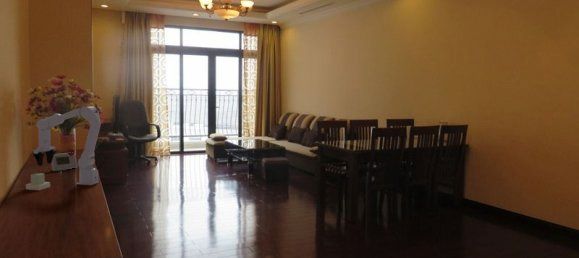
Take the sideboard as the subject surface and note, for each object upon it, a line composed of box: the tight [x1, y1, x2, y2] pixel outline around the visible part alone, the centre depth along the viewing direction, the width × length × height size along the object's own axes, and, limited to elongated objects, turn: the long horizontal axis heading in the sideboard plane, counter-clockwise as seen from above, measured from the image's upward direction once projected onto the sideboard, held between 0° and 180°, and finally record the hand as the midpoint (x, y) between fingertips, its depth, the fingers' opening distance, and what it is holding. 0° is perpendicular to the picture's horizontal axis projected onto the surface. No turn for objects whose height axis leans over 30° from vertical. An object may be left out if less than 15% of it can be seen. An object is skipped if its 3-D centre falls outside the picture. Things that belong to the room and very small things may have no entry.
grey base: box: [25, 181, 51, 191], centre depth 228 cm, size 8×8×3 cm
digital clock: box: [50, 152, 78, 172], centre depth 276 cm, size 16×9×11 cm, turn 132°
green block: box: [30, 172, 46, 185], centre depth 227 cm, size 4×4×5 cm
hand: (44, 164), depth 239 cm, fingers open, 7 cm apart
